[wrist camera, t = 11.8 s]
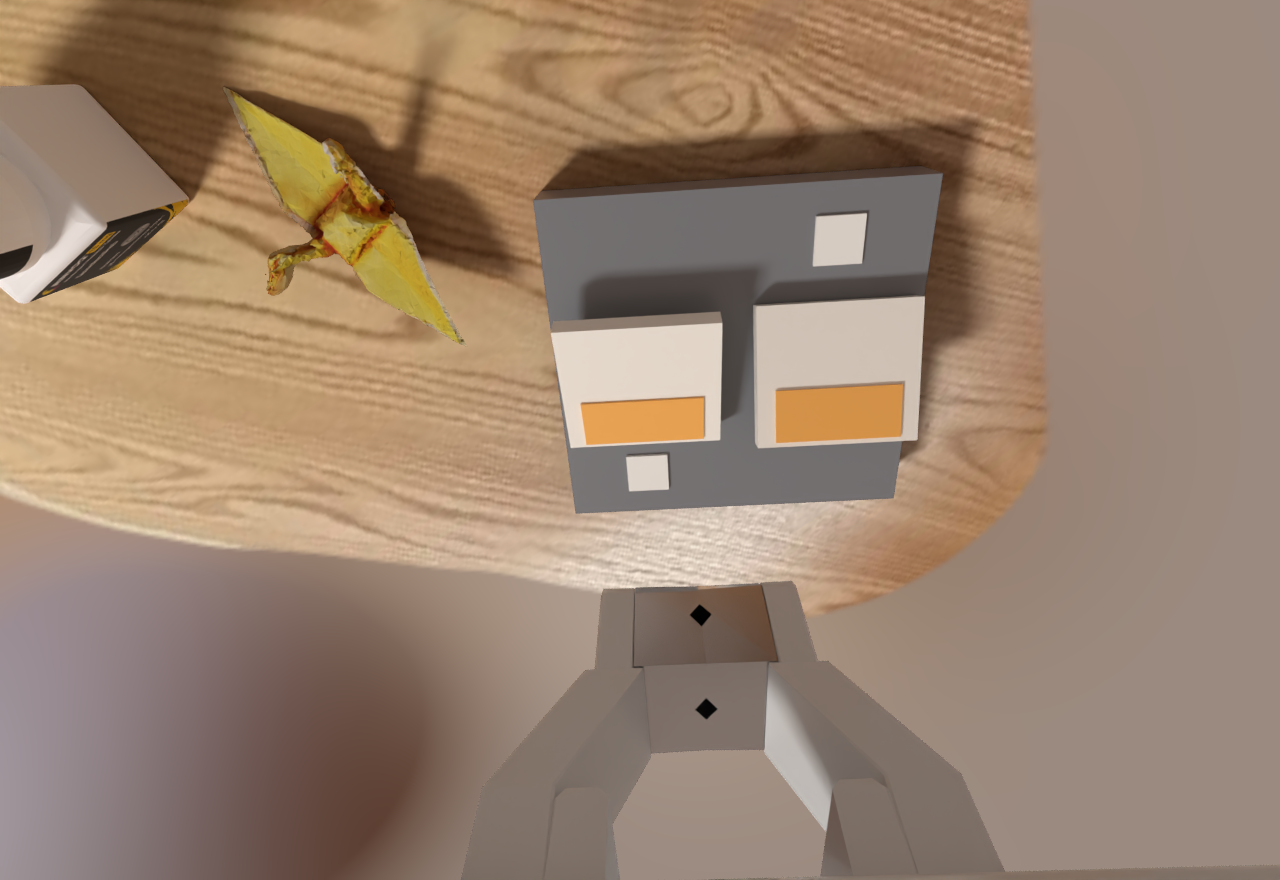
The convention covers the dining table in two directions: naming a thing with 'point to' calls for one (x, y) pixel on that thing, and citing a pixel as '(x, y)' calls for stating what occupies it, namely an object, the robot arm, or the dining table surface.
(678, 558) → the dining table surface
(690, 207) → the switch panel
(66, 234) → the medicine bottle
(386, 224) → the origami crane
